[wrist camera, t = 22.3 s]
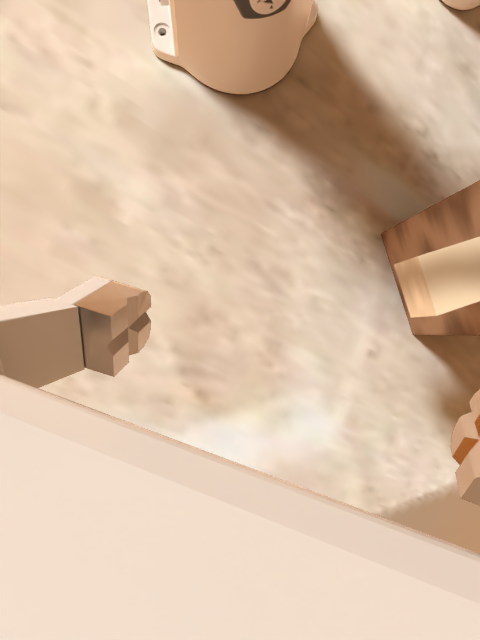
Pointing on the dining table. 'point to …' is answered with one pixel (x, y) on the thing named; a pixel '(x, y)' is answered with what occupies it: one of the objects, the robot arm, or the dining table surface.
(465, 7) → the milk bottle
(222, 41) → the robot arm
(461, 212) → the walnut cabinet
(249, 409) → the dining table surface
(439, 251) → the pine bar
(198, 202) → the dining table surface
